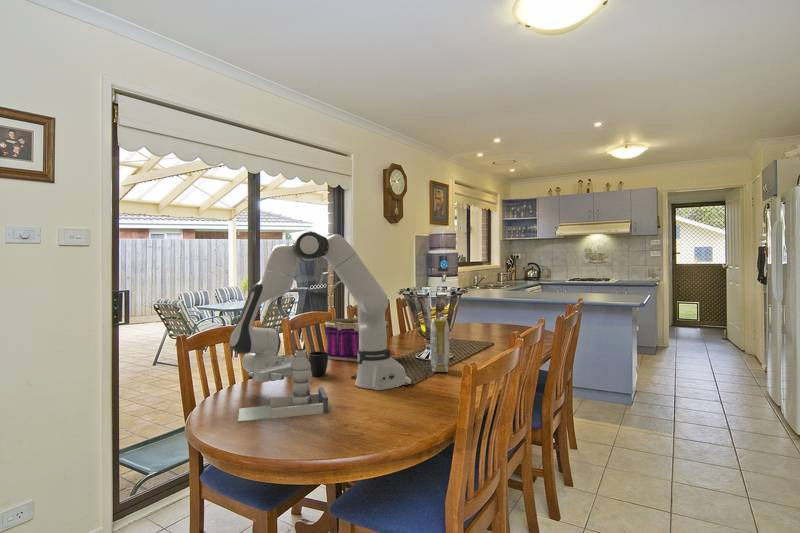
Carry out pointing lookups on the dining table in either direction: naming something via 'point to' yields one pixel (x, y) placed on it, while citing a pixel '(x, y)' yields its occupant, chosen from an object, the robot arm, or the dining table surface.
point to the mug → (318, 363)
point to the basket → (343, 336)
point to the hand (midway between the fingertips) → (294, 374)
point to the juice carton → (440, 345)
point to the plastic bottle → (301, 378)
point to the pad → (254, 413)
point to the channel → (299, 410)
